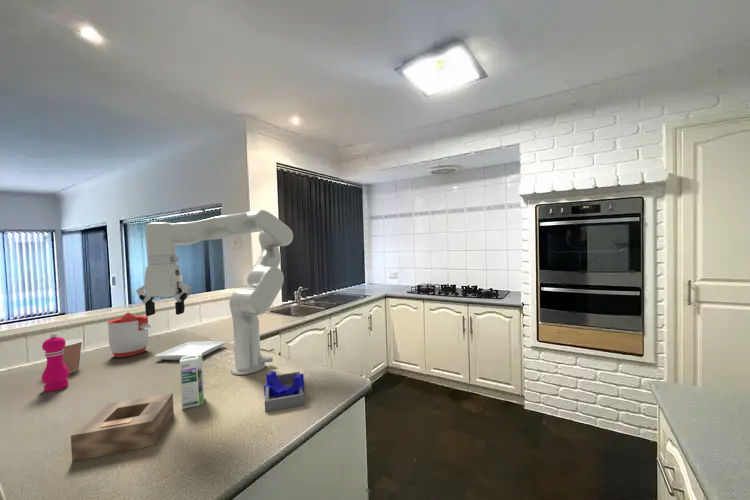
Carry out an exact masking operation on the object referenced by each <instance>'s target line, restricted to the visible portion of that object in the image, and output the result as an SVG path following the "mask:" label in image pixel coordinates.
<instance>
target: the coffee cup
mask: <svg viewBox="0 0 750 500" xmlns="http://www.w3.org/2000/svg"><path fill="white" fill-rule="evenodd" d="M65 342H66V344H65V346H64V347H63V349H64V353H63V361H64V363H65V365H66V366H67V368H68V369H69V373H70V374H71V373H74V372H76V371H78V370H79V367H80V361H81V354H82V353H81V350H82V342H83V339H81V338H80V339H79V338H77V339H69V340H68V339H67V340H65Z"/></svg>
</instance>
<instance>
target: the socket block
mask: <svg viewBox="0 0 750 500" xmlns="http://www.w3.org/2000/svg"><path fill="white" fill-rule="evenodd" d="M174 414H175V411H174V394H173V392H172V393H166V394H165V393H164V394H161V395H154V396H153V395H152V396H146V397H140V398H134V399H127V400H122V401H117V402H116V401H115V402H109V403H105V405H103V406H102V407H101V408H99V410H98V411H96V412H95V413H94V414H93V415H92V416H91V417H90V418H88V420H86V422H84V423H83V424H82V425H81V426H80V427H79V428H78V429H76V430H75V431H74V432H73V433H72V434H71V435H70V445H71V446H70V447H71V461H72V462H77V461H83V460H88V459H93V458H97V457H102V456H108V455H113V454H118V453H123V452H128V451H134V450H139V449H143V448H149V447H154V445H155V444H156V443H157V441H158V439H159V437H160V436H161V435H162V433H163V432H164V430H165V428H166V427H167V426H168V424H169V422H170V420H171V419H172V418H173V416H174Z"/></svg>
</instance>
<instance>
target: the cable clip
mask: <svg viewBox="0 0 750 500" xmlns="http://www.w3.org/2000/svg"><path fill="white" fill-rule="evenodd" d="M277 375H278V374H277V371H274V370H273V371H269V372H268V373H267V374H266V377H265V378H266V379H267V384H266V383H265V385H263V395H264V396H265V390H266V387H269V392H270V394H269V395H270V397H273V398H274V397H275V398H279V397H283V396H291V395H296V394H299V387H301V386H302V388H303V393H305V392H306V391H305V378H304V377H305V376H304V373H300V374H298V375H297V376H295V377H294V382H292V385H286V384H282V383H281V382H280V381H279V380H278V378H277Z"/></svg>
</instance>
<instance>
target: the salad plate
mask: <svg viewBox="0 0 750 500" xmlns="http://www.w3.org/2000/svg"><path fill="white" fill-rule="evenodd" d="M225 344H226V341H221V340H220V341H218V340H217V341H215V340H213V341H212V340H211V341H207V340H206V341H187V342H186V341H185V342H184V343H181V344H178V345H176V346H174V347H171V348H169V349H167V350H165V351H162V352H160V353H157V354H155V355H154V357H155V358H156V359H158V360H159V359H160V360H165V361H166V360H167V361H180V360H181V358H182V357H183V356H190V355H197V354H202V358H203V357H205V356H206V355H208V354H211V353H213V352H214V351H216V350H218V349H220V348H221V347H223V346H224V345H225Z"/></svg>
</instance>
